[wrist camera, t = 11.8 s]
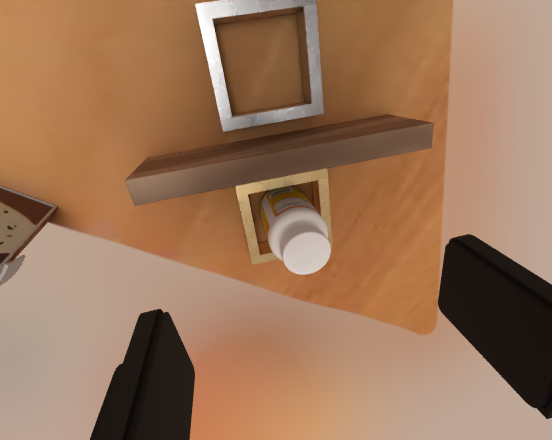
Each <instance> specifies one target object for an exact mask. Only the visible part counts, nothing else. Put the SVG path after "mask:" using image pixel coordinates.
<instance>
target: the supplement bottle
mask: <svg viewBox="0 0 552 440" xmlns="http://www.w3.org/2000/svg"><path fill="white" fill-rule="evenodd" d="M260 217H261V220H262V223H263V226H264V230H265V233H266V236H267V240H268V243H269V246H270V248H271V250H272V252H273V253H274V255H275V256H276V257H277V258H279V259H280V260H282V261H283V262H284V264H285V266H286V267H287V268H288V269H289V270H290V271H292V272H294V273H296V274H302V275H304V274H311V273H313V272H316V271H318V270H319V269H321V268H322V267H323V266H324V265H325V264H326V262H327V261H328V259H329V257H330V253H331V247H330V243H329V241H328V229H327V225H326V223H325V221H324V220H323V218H322V217H321V215H320V214H319V213H318V212H317V210H316V209H315V208H314V207H313V205H312V204H311V203H310V201H309V200H308V199H307V197H306V196H305V195H304V194H303V193H302V192H301V191H300V190H299V189H297V188H295V187H292V186H286V187H281V188H276V189H272V190H270V191H269V192H268V193H267V194H266V195H265V196H264V197H263V199H262V201H261V204H260Z"/></svg>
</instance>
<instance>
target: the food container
mask: <svg viewBox="0 0 552 440" xmlns="http://www.w3.org/2000/svg"><path fill="white" fill-rule="evenodd" d="M57 207H58V206H56V205H53V204H51V203H48V202H45V201H42V200H40V199H37V198H34V197H31V196H29V195H26V194H23V193H20V192H18V191H15V190H12V189H9V188H7V187H4V186H1V185H0V285H2V284H3V283H5V282H7V281H8V280H9V279H10V278H11V277H12V276H13V275H14V274H15V273H16V272H17V270H18V269H19V268H20V266H21V265H22V262H23V261H24V258H25V255H22V256H21V257H19V258H17V259H15V258H16V257H17V256H18V255H19V254H20V252H21V251H22V250H23V249H24V248H25V247H26V246H27V245H28V244H29V242H30V241H31V240H32V239H33V238H34V237H35V236H36V235H37V234H38V232H39V231H40V230H41V229H42V228H43V227H44V226H45V225H46V224H47V222H48V221H49V220H50V219H51V218H52V216H53V215H54V214H55V211H56V209H57ZM14 259H15V260H14Z"/></svg>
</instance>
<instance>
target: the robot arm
mask: <svg viewBox="0 0 552 440" xmlns="http://www.w3.org/2000/svg"><path fill="white" fill-rule="evenodd" d="M438 306H439V309H440V310H441V312H442V313H443V314H444V315H445V316H446V318H447V319H448V320H449V321H450V322H451V323H452V324H453V325H454V326H455V327H456V328H457V329H458V330H459V331H460V333H461V334H462V335H463V336H464V337H465V338H466V339H467V340H468V341H469V342H470V343H471V344H472V345H473V346H474V347H475V349H476V350H477V351H478V352H479V353H480V354H481V355H482V356H483V357H484V358H485V359H486V360H487V361H488V362H489V363H490V364H491V365H492V367H493V368H494V369H495V370H496V371H497V372H498V373H499V374H500V375H501V376H502V377H503V378H504V379H505V380H506V381H507V382H508V384H509V385H510V386H511V387H512V388H513V389H514V390H515V391H516V392H517V393H518V394H519V395H520V396H521V398H523V400H524V401H525V402H526V403H527V404H529V405H530V406H532V407H533V408H537V409H538V410H539V411H540V412H541V413H542V414H543V415H544V416H545V417H546V419H549V418H552V285H551V284H550V283H548V282H546V281H545V280H543V279H542V278H540V277H539V276H537V275H535V274H534V273H532V272H531V271H529V270H527V269H526V268H524V267H523V266H521V265H520V264H518V263H516V262H515V261H513V260H512V259H510V258H508V257H507V256H505V255H504V254H502V253H500V252H499V251H497V250H496V249H494V248H492V247H491V246H489V245H488V244H486V243H484V242H483V241H481V240H480V239H478V238H476V237H475V236H473V235H470V234H468V235H463V236H459V237H455V238H452V239H450V241H449V244H447V245H446V247H445V254H444V262H443V269H442V276H441V284H440V291H439V299H438ZM194 381H195V372H194V367H193V364H192V362H191V360H190V358H189V356H188V353H187V351H186V349H185V347H184V345H183V342H182V341H181V338H180V336H179V334H178V332H177V329H176V327H175V325H174V323H173V321H172V319H171V316H170V314H169V313H168V312H165V313H163V311H162V310H161V309H157V310H153V311H149V312H144V313H141V314H140V316H139V318H138V321H137V323H136V326H135V329H134V332H133V335H132V338H131V341H130V344H129V347H128V350H127V353H126V355H125V359H124V362H123V364H120V365H119V366H118V367H117V368H116V370H115V372H114V374H113V377H112V380H111V382H110V385H109V388H108V391H107V393H106V396H105V399H104V402H103V405H102V407H101V410H100V413H99V415H98V418H97V421H96V424H95V427H94V429H93V432H92V435H91V438H90V440H189V439H190V428H191V415H192V405H193V393H194Z"/></svg>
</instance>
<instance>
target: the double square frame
mask: <svg viewBox="0 0 552 440" xmlns="http://www.w3.org/2000/svg"><path fill="white" fill-rule="evenodd" d="M195 6H196V10H197V15H198V19H199V24H200V28H201V33H202V38H203V42H204V47H205V51H206V56H207V60H208V65H209V69H210V74H211V79H212V83H213V88H214V92H215V97H216V101H217V106H218V110H219V115H220V120H221V124H222V129H223V132H224V131H230V130H236V129H241V128H247V127H253V126H258V125H264V124H270V123H275V122H281V121H287V120H292V119H298V118H304V117H309V116H315V115H321V114H324V109H323V94H322V79H321V64H320V48H319V33H318V18H317V3H316V0H221V1H214V2H206V3H199V4H195ZM294 13H296V16H297V27H298V38H299V49H300V59H301V70H302V81H303V92H304V102H303V103H297V104H291V105H285V106H280V107H274V108H268V109H262V110H256V111H251V112H245V113H239V114H233V115H232V114H231V109H230V104H229V99H228V94H227V89H226V84H225V79H224V74H223V69H222V64H221V59H220V54H219V49H218V44H217V39H216V34H215V30H214V25H216V24H223V23H230V22H237V21H244V20H251V19H259V18H266V17H273V16H280V15H287V14H294ZM311 181H312V189H313V199H314V208H315V209H316V210H317V212H318V213H319V214H320V215H321V217H322V218H323V220H324V221H325V223H326V225H327V229H328V241H329V243H330V247H333V245H332V230H331V215H330V200H329V185H328V169H327V168H326V169H321V170H316V171H311V172H305V173H300V174H295V175H290V176H285V177H280V178H275V179H270V180H264V181H259V182H254V183H249V184H244V185H239V186H235V188H236V193H237V197H238V202H239V206H240V211H241V215H242V220H243V224H244V229H245V234H246V238H247V243H248V247H249V252H250V256H251V261H252V265H254V264H259V263H263V262H268V261H272V260H277V259H279V258H277V257H276V256H275V255H274V253H273V252H272V250H271V248H270V246H269V243H268V241H267V242H262V243H257V238H256V233H255V228H254V223H253V218H252V213H251V208H250V203H249V198H248V194H251V193H256V192H261V191H266V190H271V189H276V188H281V187H286V186H291V185H296V184H301V183H306V182H311Z"/></svg>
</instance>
